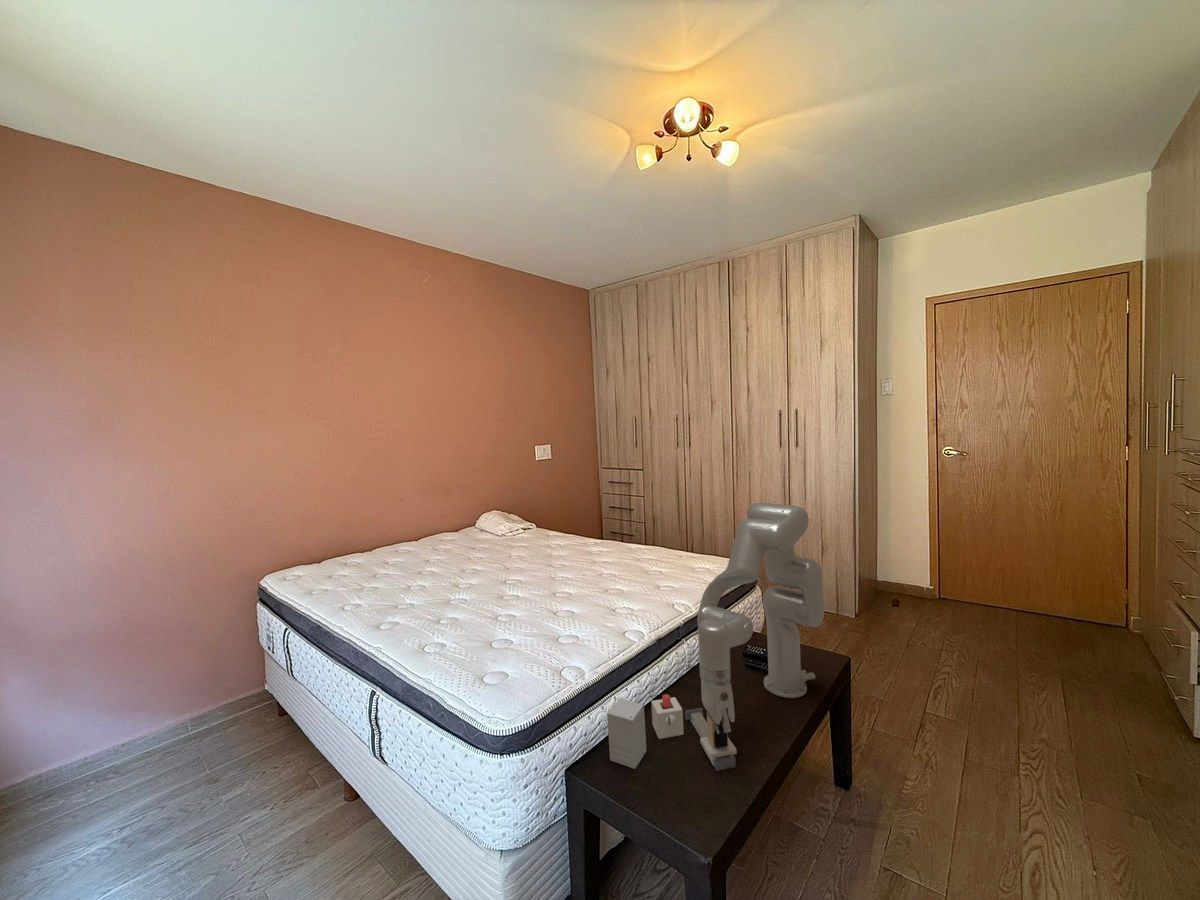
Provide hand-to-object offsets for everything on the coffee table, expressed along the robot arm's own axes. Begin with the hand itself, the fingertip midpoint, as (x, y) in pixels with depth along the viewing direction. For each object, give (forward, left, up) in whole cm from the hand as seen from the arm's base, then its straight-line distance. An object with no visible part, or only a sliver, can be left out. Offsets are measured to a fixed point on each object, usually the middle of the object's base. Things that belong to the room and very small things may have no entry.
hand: (717, 740), depth 116 cm
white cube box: (+9, -13, -4) cm, 16 cm away
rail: (0, -6, -4) cm, 7 cm away
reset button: (+9, -13, 0) cm, 16 cm away
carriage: (0, 0, -4) cm, 4 cm away
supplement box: (+22, -6, -4) cm, 23 cm away
